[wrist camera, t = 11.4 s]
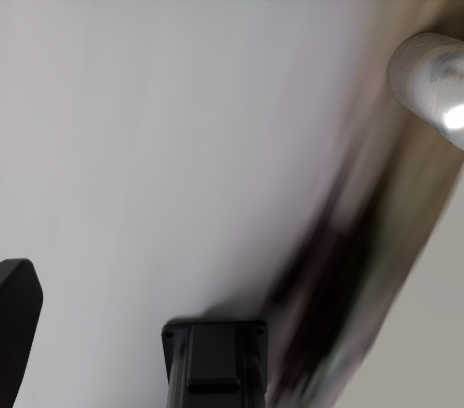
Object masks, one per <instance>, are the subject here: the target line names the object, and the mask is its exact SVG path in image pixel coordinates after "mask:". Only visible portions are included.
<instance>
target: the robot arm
mask: <svg viewBox="0 0 464 408" xmlns="http://www.w3.org/2000/svg"><path fill="white" fill-rule="evenodd" d="M42 304H43V291H42V288H41V285H40V282H39V279H38V277H37V274H36V271H35V268H34V266H33V263H32V262H31V261H30V260H29V259H27V258H17V259H6V260H3V261H2V262H0V408H12V407H13V405H14V402H15V399H16V397H17V394H18V391H19V389H20V386H21V383H22V380H23V377H24V373H25V370H26V366H27V362H28V358H29V355H30V351H31V347H32V343H33V339H34V335H35V331H36V327H37V324H38V320H39V316H40V312H41V308H42ZM257 329H261V330H257ZM168 332H172V333H168ZM161 336H162V343H163V350H164V357H165V363H166V370H167V377H168V384H169V391H168V399H167V407H166V408H266V407H265V397H264V394H265V393H266V391H267V350H268V328H267V324H266V323H265V322H263V321H247V322H219V323H191V324H168V325H165V326H164V327H163V328H162V335H161Z"/></svg>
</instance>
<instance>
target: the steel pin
mask: <svg viewBox="0 0 464 408" xmlns="http://www.w3.org/2000/svg"><path fill="white" fill-rule="evenodd" d="M386 83H387V87H388V89H389V91H390V93H391V94H392V96H393V97H394V98H395V99H397V100H398V101H399V102H400V103H402V104H403V105H404V106H406V107H407V108H408V109H409V110H411V111H412V112H413V113H415V114H416V115H417V116H418V117H420V118H421V119H422V120H424V121H425V122H426V123H428V124H429V125H430V126H431V127H433V128H434V129H435V130H437V131H438V132H439V133H440V134H442V135H443V136H444V137H446V138H447V139H448V140H450V141H451V142H452V143H453V144H455V145H456V146H457V147H459V148H460V149H461V150H463V151H464V41H460V40H457V39H454V38H451V37H448V36H445V35H442V34H439V33H434V32H426V33H421V34H417V35H415V36H413V37H411V38H409V39H407V40H406V41H404V42H403V43H402V44H401V45H400V46H399V47H398V48H397V49H396V50H395V52H394V53H393V55H392V56H391V58H390V60H389V63H388V66H387V70H386Z"/></svg>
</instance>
